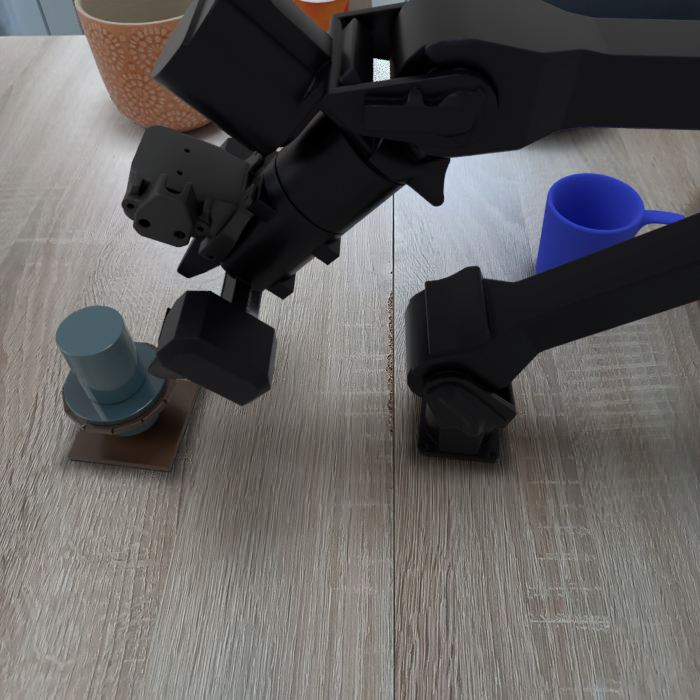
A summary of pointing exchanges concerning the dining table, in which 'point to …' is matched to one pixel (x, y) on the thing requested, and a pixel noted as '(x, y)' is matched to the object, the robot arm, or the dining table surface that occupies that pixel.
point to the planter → (137, 57)
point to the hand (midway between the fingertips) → (169, 320)
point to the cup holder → (143, 448)
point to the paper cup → (322, 10)
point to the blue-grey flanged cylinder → (107, 369)
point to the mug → (591, 218)
